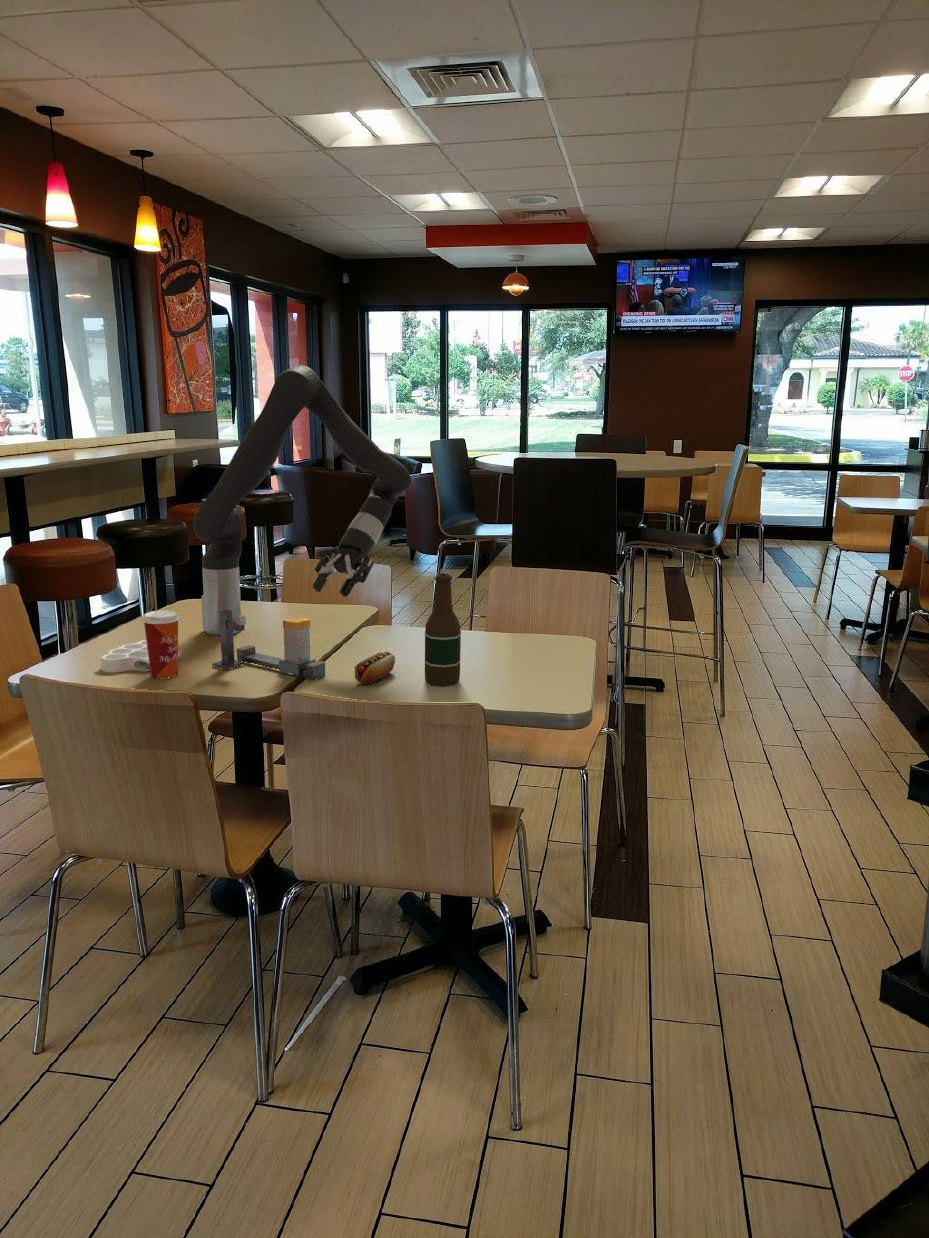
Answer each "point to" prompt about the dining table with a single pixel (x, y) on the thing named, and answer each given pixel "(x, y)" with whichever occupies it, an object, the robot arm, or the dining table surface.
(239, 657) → the rail
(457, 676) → the beer bottle
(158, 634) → the paper cup
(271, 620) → the dining table surface
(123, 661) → the white tray with holes
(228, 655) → the hook
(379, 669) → the hot dog
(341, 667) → the dining table surface
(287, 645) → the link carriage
